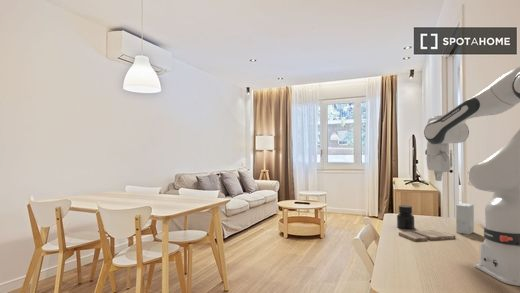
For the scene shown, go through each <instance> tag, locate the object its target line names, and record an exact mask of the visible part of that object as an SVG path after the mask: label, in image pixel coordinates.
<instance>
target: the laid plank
mask: <svg viewBox="0 0 520 293" xmlns="http://www.w3.org/2000/svg"><path fill="white" fill-rule="evenodd" d="M398 236H400V237H402V238H405V239H407V240H409V241H413V242H416V243H417V242H427V241H429V240H428V237H426V236H423V235H420V234H417V233H414V232H413V231H411V230H410V231H399V232H398Z"/></svg>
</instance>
